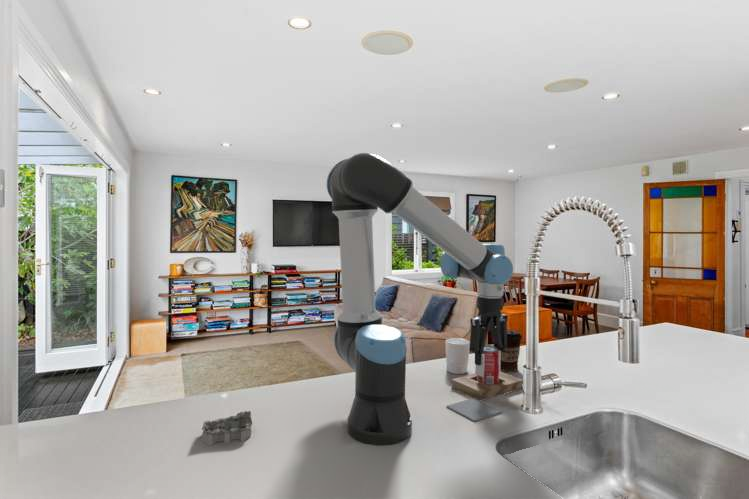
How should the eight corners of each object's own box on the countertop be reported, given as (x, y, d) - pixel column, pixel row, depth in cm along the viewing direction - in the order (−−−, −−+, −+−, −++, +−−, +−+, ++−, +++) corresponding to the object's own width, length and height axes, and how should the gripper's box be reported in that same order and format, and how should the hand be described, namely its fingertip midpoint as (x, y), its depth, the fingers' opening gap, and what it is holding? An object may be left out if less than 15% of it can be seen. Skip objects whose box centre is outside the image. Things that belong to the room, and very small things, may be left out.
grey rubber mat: (474, 421, 105) (474, 420, 105) (446, 407, 113) (446, 405, 113) (502, 412, 110) (502, 411, 110) (473, 399, 119) (473, 398, 119)
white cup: (462, 376, 137) (463, 345, 137) (440, 371, 142) (441, 341, 141) (472, 370, 143) (473, 340, 143) (451, 365, 148) (452, 336, 148)
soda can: (477, 390, 125) (478, 350, 124) (476, 383, 131) (477, 344, 131) (499, 392, 124) (500, 351, 123) (497, 384, 130) (498, 345, 129)
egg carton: (252, 426, 101) (253, 409, 101) (251, 442, 94) (251, 424, 94) (205, 430, 99) (205, 413, 99) (199, 447, 92) (199, 428, 91)
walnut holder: (480, 400, 118) (480, 391, 118) (451, 387, 127) (451, 379, 127) (523, 388, 128) (523, 380, 128) (493, 376, 137) (493, 369, 137)
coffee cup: (524, 374, 140) (526, 335, 139) (499, 373, 140) (500, 334, 140) (516, 365, 149) (517, 328, 148) (492, 365, 149) (493, 328, 148)
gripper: (476, 300, 118) (474, 383, 119) (521, 295, 128) (519, 371, 129) (457, 296, 124) (455, 375, 125) (502, 292, 134) (499, 364, 136)
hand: (487, 373), depth 127 cm, fingers closed on soda can, 6 cm apart
